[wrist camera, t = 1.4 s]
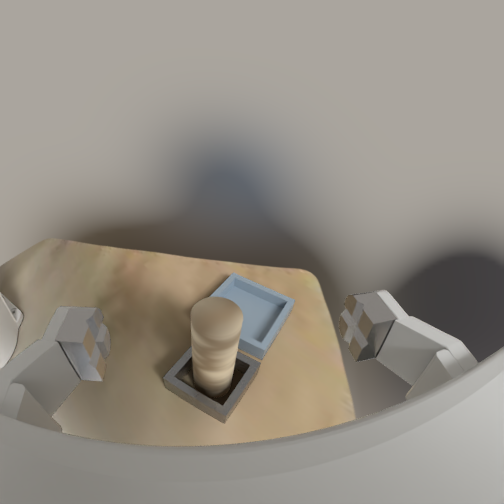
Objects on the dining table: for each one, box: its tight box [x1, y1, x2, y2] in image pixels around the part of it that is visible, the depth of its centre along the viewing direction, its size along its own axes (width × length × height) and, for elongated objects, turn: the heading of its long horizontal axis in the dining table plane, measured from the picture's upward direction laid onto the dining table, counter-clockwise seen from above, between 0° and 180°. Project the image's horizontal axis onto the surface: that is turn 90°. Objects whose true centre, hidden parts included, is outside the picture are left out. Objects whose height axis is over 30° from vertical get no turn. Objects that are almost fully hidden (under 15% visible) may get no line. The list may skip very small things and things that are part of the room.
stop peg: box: [191, 297, 243, 398], centre depth 29 cm, size 5×5×14 cm
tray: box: [210, 273, 295, 360], centre depth 43 cm, size 12×12×2 cm
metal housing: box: [163, 346, 261, 424], centre depth 33 cm, size 9×9×3 cm
